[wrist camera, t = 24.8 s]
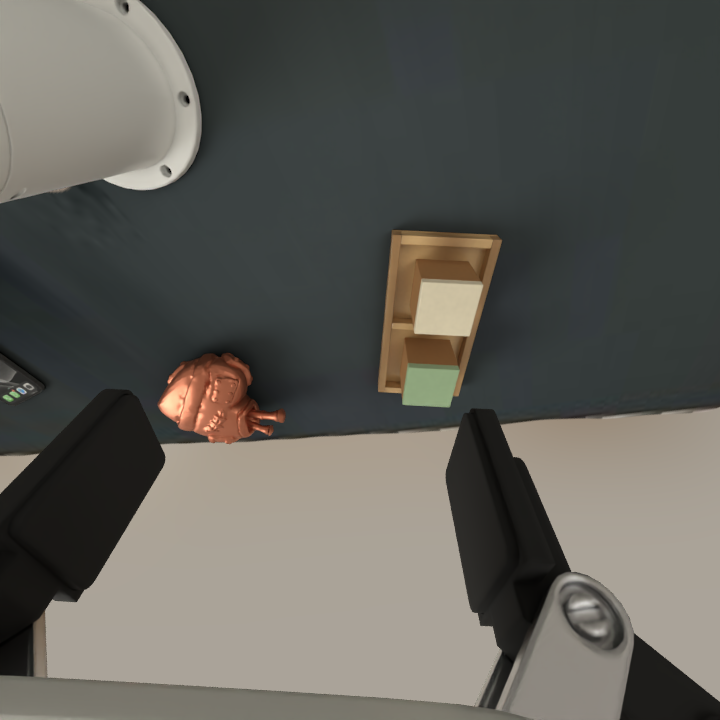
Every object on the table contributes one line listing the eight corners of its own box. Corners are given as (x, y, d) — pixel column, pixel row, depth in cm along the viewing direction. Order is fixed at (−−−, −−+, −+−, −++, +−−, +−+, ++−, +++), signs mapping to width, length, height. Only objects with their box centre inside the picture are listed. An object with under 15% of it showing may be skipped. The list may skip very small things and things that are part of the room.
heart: (168, 455, 42) (288, 451, 41) (126, 374, 35) (268, 368, 35) (189, 422, 47) (296, 418, 46) (157, 346, 40) (280, 340, 40)
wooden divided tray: (378, 383, 42) (378, 392, 40) (392, 229, 31) (392, 234, 30) (455, 387, 42) (458, 396, 40) (497, 234, 31) (502, 240, 29)
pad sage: (399, 372, 40) (402, 405, 36) (404, 337, 37) (408, 367, 33) (441, 374, 40) (449, 407, 36) (449, 339, 37) (460, 370, 33)
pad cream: (409, 306, 35) (414, 334, 30) (415, 258, 32) (422, 281, 28) (457, 308, 35) (469, 337, 30) (468, 261, 32) (483, 285, 27)
